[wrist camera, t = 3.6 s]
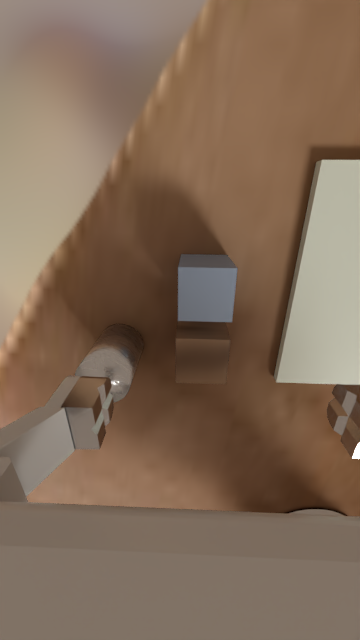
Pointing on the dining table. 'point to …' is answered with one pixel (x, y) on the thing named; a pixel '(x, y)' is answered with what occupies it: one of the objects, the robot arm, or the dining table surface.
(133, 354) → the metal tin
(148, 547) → the robot arm
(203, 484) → the dining table surface
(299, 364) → the sage board
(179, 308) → the slate blue block
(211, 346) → the walnut block
